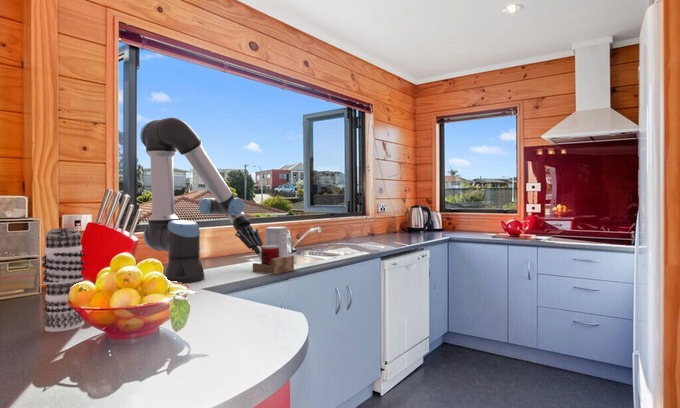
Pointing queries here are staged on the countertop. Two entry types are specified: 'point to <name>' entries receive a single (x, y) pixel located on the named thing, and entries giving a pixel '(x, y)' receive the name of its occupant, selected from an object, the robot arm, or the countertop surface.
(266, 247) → the canned food
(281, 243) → the white canister
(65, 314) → the decorative candle
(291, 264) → the dock
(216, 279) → the countertop surface
